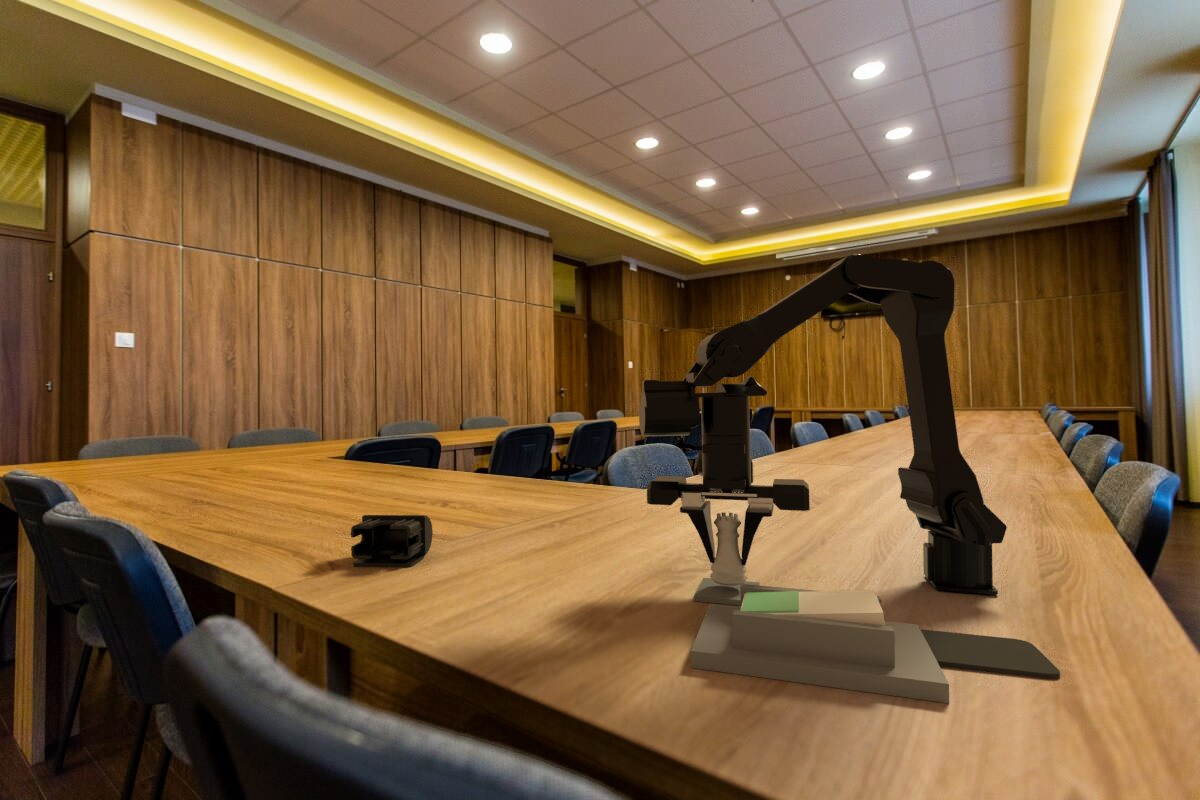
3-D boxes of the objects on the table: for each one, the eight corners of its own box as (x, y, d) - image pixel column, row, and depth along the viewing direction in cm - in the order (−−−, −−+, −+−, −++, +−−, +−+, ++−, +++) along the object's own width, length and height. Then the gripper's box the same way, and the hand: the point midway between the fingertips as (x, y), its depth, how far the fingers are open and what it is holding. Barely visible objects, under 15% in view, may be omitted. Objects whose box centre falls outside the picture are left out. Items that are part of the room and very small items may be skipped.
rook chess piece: (751, 586, 67) (749, 518, 67) (713, 586, 67) (711, 519, 67) (743, 573, 71) (741, 510, 71) (707, 574, 72) (705, 511, 71)
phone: (1066, 676, 47) (867, 653, 52) (1066, 686, 47) (867, 662, 52) (1029, 639, 54) (857, 622, 59) (1029, 648, 54) (857, 630, 59)
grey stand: (917, 640, 55) (917, 593, 55) (949, 703, 44) (948, 645, 44) (710, 617, 62) (709, 576, 62) (691, 667, 51) (690, 616, 51)
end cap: (433, 554, 89) (432, 511, 89) (414, 568, 82) (413, 521, 82) (372, 553, 90) (372, 511, 90) (348, 567, 83) (347, 521, 83)
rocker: (876, 605, 54) (873, 587, 54) (885, 630, 48) (882, 610, 48) (747, 608, 58) (744, 591, 58) (741, 631, 52) (738, 612, 52)
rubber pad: (759, 587, 71) (759, 582, 71) (755, 607, 65) (755, 601, 65) (703, 582, 74) (703, 577, 74) (694, 600, 67) (694, 595, 67)
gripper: (806, 430, 74) (808, 551, 74) (664, 430, 80) (666, 542, 80) (808, 436, 63) (811, 577, 63) (644, 436, 69) (647, 564, 69)
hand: (728, 563), depth 69 cm, fingers closed on rook chess piece, 3 cm apart
